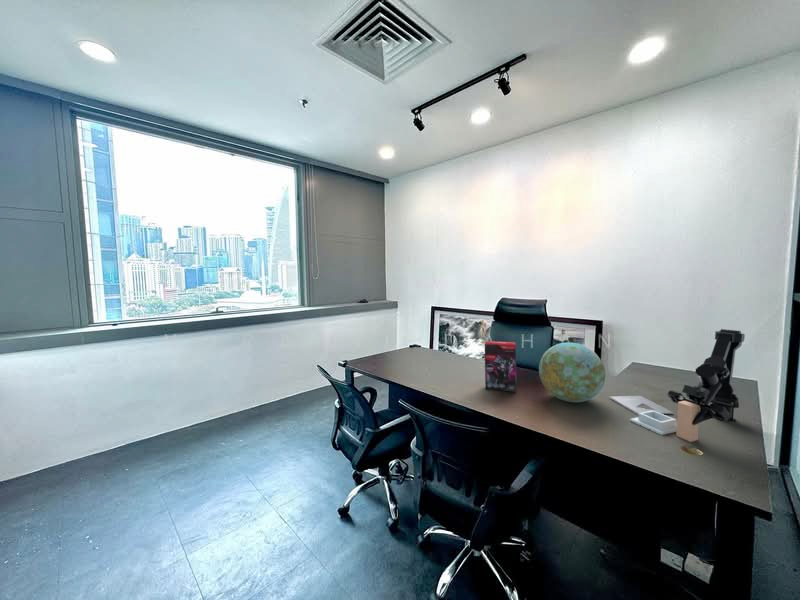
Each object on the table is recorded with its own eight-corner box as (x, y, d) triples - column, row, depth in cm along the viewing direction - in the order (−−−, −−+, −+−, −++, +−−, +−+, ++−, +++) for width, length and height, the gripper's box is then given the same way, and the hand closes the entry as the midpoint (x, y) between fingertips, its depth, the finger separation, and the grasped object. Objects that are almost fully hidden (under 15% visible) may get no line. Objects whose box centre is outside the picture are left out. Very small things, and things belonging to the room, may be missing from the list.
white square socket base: (652, 416, 145) (652, 407, 145) (684, 429, 133) (685, 420, 133) (630, 420, 142) (630, 412, 141) (661, 435, 129) (662, 425, 129)
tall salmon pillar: (683, 433, 130) (684, 400, 128) (697, 440, 125) (699, 405, 124) (676, 435, 129) (677, 402, 127) (690, 441, 124) (692, 407, 122)
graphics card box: (484, 390, 183) (484, 343, 181) (485, 385, 190) (485, 340, 187) (516, 392, 178) (516, 344, 175) (516, 388, 184) (516, 341, 182)
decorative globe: (556, 385, 187) (557, 334, 184) (614, 401, 163) (616, 343, 160) (527, 398, 169) (527, 343, 166) (587, 418, 145) (589, 354, 142)
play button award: (640, 395, 166) (673, 412, 147) (640, 398, 167) (673, 415, 147) (609, 396, 166) (638, 413, 146) (609, 399, 166) (638, 416, 146)
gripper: (671, 371, 135) (650, 400, 132) (726, 386, 117) (704, 420, 115) (683, 386, 137) (663, 415, 135) (739, 403, 120) (717, 437, 118)
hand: (685, 421), depth 126 cm, fingers closed on tall salmon pillar, 5 cm apart
